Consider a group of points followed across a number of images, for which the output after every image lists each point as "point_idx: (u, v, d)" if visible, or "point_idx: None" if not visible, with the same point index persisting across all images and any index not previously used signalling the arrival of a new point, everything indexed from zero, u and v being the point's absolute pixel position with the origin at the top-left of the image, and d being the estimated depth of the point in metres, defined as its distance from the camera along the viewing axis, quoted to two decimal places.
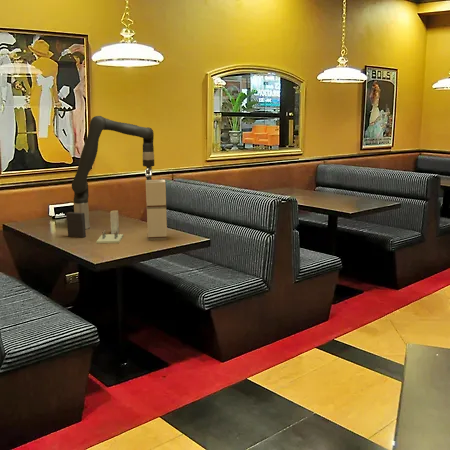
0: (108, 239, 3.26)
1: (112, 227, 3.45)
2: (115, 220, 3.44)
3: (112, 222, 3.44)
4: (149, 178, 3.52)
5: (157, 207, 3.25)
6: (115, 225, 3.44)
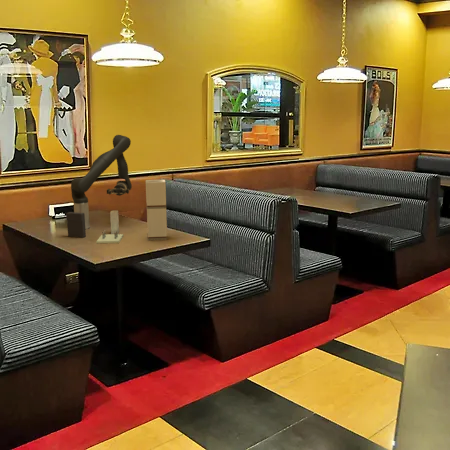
0: (108, 239, 3.26)
1: (112, 227, 3.45)
2: (115, 220, 3.44)
3: (112, 222, 3.44)
4: (125, 193, 3.59)
5: (157, 207, 3.25)
6: (115, 225, 3.44)
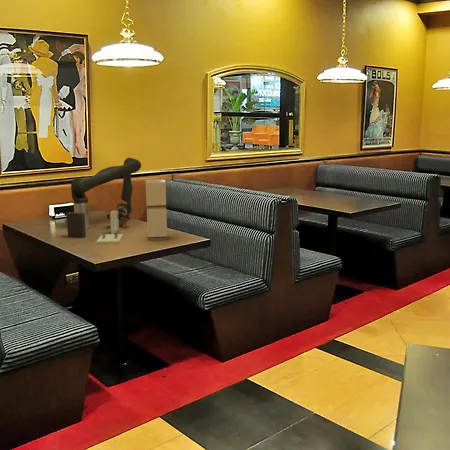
0: (108, 239, 3.26)
1: (112, 227, 3.45)
2: (115, 220, 3.44)
3: (112, 222, 3.44)
4: (125, 217, 3.59)
5: (157, 207, 3.25)
6: (115, 225, 3.44)
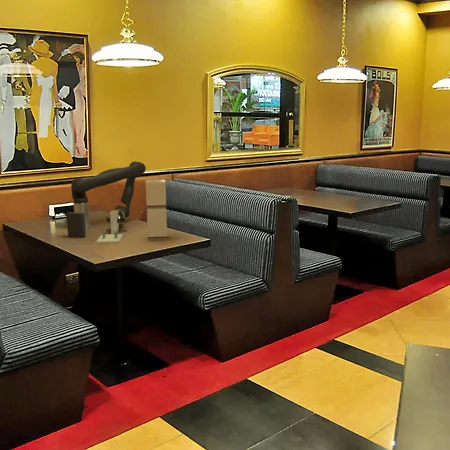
0: (108, 239, 3.26)
1: (112, 227, 3.45)
2: (115, 220, 3.44)
3: (112, 222, 3.44)
4: (119, 221, 3.48)
5: (157, 207, 3.25)
6: (115, 225, 3.44)
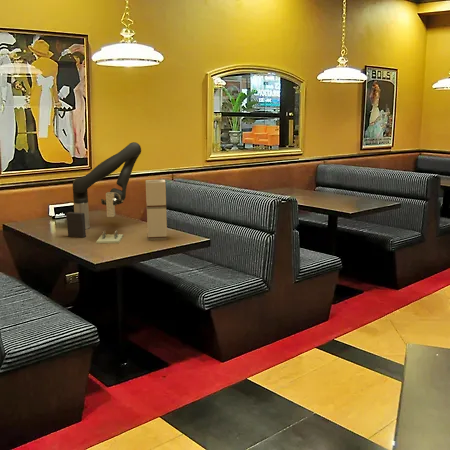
0: (108, 239, 3.26)
1: (108, 210, 3.27)
2: (111, 202, 3.27)
3: (108, 204, 3.27)
4: (115, 203, 3.31)
5: (157, 207, 3.25)
6: (111, 207, 3.27)
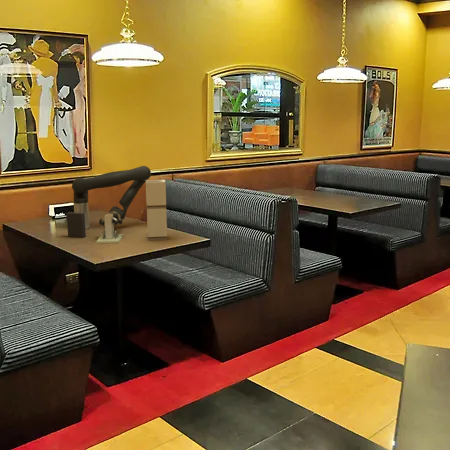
0: (108, 239, 3.26)
1: (107, 231, 3.27)
2: (110, 224, 3.26)
3: (106, 226, 3.26)
4: (117, 223, 3.31)
5: (157, 207, 3.25)
6: (110, 229, 3.27)
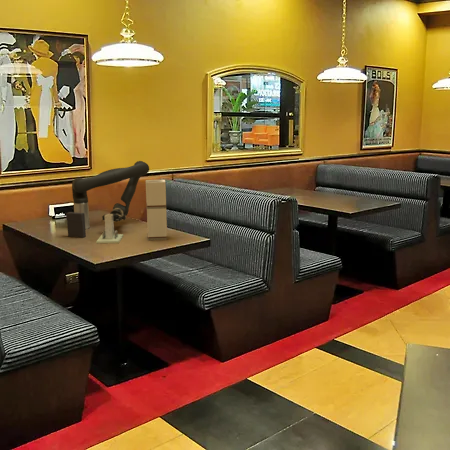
0: (108, 239, 3.26)
1: (107, 231, 3.27)
2: (110, 224, 3.26)
3: (107, 226, 3.26)
4: (121, 219, 3.44)
5: (157, 207, 3.25)
6: (110, 229, 3.27)
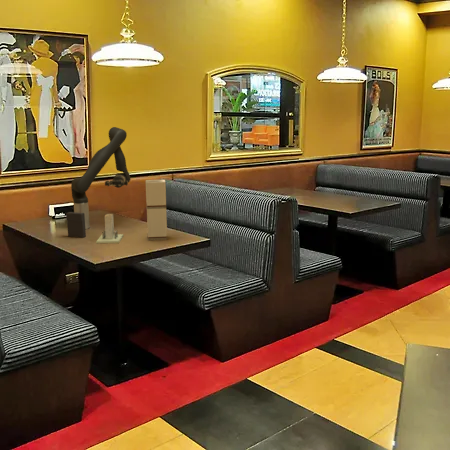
0: (108, 239, 3.26)
1: (107, 231, 3.27)
2: (110, 224, 3.26)
3: (107, 226, 3.26)
4: (124, 184, 3.53)
5: (157, 207, 3.25)
6: (110, 229, 3.27)
